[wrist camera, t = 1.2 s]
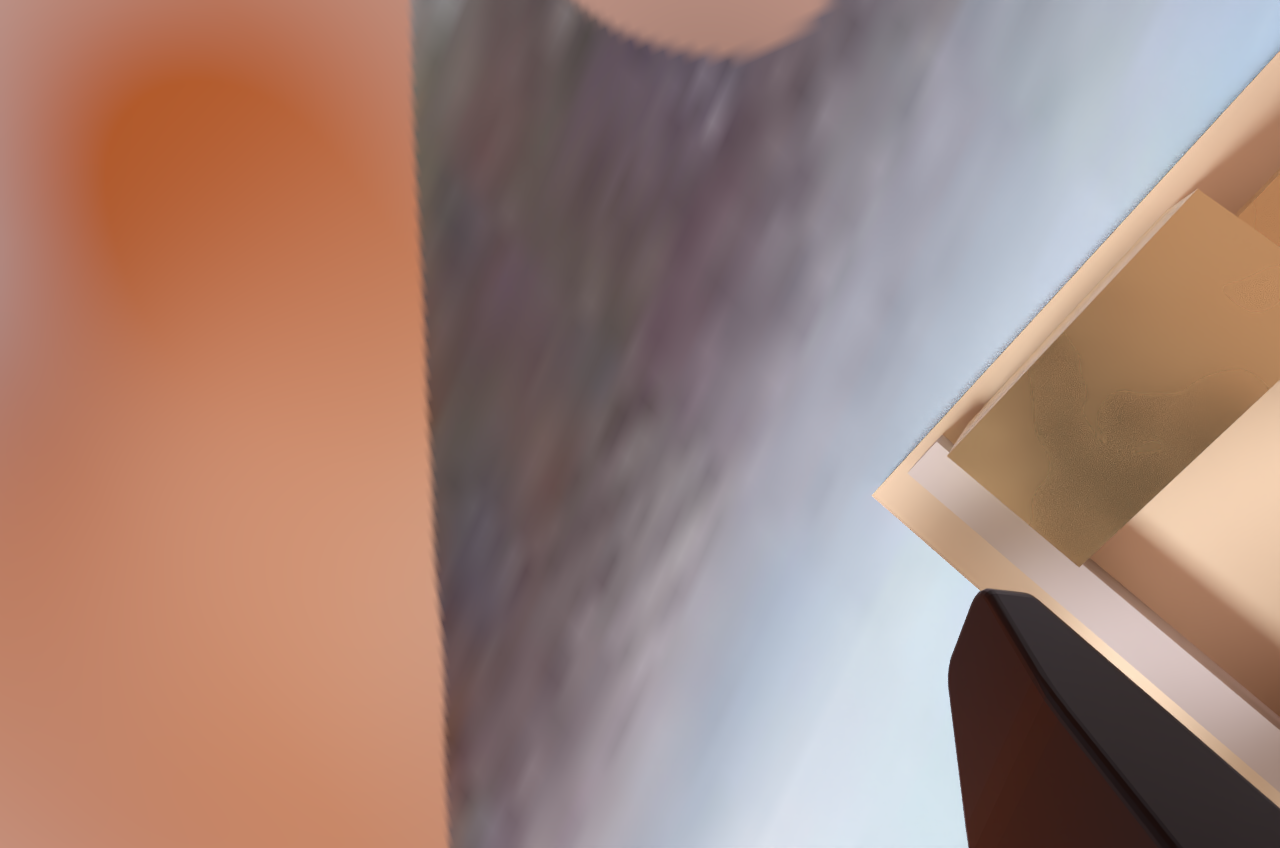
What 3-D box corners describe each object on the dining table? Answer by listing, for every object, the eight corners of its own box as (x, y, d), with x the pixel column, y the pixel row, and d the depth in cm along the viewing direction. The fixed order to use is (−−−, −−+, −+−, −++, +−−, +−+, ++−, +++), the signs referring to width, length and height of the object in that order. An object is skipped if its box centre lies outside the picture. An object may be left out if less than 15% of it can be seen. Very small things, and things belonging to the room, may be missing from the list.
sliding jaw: (1460, 134, 18) (1597, 82, 13) (1074, 508, 22) (1079, 567, 17) (1322, 44, 19) (1406, -35, 14) (969, 421, 22) (946, 456, 18)
